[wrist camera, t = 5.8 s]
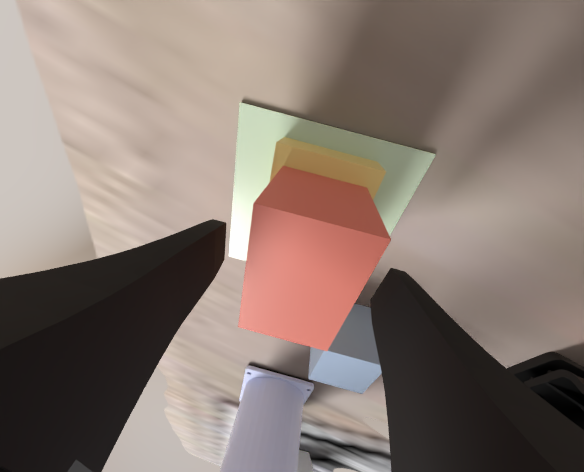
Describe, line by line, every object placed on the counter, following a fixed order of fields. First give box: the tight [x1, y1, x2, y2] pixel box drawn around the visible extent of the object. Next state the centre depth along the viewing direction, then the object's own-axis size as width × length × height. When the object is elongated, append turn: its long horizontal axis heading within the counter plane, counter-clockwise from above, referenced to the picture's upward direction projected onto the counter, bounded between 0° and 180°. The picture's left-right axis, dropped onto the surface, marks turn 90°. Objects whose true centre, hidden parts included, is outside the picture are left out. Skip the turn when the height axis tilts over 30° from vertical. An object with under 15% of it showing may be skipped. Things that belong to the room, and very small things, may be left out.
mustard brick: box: [269, 137, 386, 199], centre depth 12 cm, size 8×5×2 cm, turn 167°
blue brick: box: [308, 303, 382, 394], centre depth 16 cm, size 4×4×4 cm
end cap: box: [507, 352, 584, 430], centre depth 16 cm, size 10×7×7 cm
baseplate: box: [229, 102, 436, 261], centre depth 13 cm, size 10×10×1 cm
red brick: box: [238, 166, 391, 351], centre depth 9 cm, size 6×4×4 cm, turn 167°
